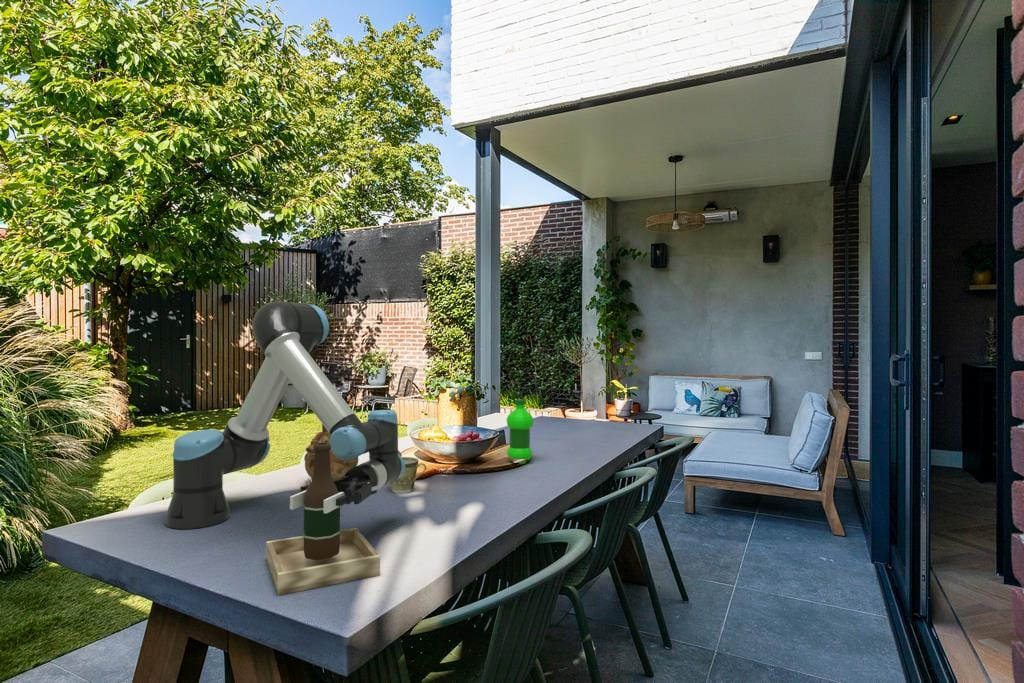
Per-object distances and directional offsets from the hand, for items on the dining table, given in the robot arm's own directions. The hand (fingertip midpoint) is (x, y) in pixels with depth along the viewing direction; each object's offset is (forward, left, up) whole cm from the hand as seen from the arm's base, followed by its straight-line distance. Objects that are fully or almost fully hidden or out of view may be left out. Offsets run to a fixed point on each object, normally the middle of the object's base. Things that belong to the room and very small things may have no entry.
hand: (308, 504), depth 119 cm
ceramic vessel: (+19, +72, -15) cm, 77 cm away
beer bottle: (+3, +3, -12) cm, 13 cm away
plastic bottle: (+93, +72, -15) cm, 118 cm away
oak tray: (+3, +3, -15) cm, 16 cm away
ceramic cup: (+39, +52, -15) cm, 67 cm away
